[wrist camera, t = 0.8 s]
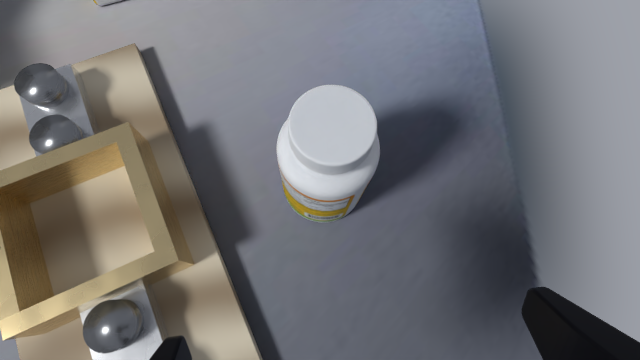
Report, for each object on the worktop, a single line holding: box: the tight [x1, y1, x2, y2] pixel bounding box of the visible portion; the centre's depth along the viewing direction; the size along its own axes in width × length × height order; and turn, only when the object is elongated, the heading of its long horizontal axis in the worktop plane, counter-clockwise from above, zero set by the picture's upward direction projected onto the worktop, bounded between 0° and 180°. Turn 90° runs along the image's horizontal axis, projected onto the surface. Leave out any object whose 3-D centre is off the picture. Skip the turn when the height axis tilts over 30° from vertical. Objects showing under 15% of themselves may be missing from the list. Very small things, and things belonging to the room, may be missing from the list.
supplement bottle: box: [277, 85, 380, 222], centre depth 21 cm, size 5×5×10 cm
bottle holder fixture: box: [0, 63, 195, 360], centre depth 21 cm, size 23×9×3 cm, turn 26°
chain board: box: [0, 43, 263, 360], centre depth 23 cm, size 25×12×1 cm, turn 26°
